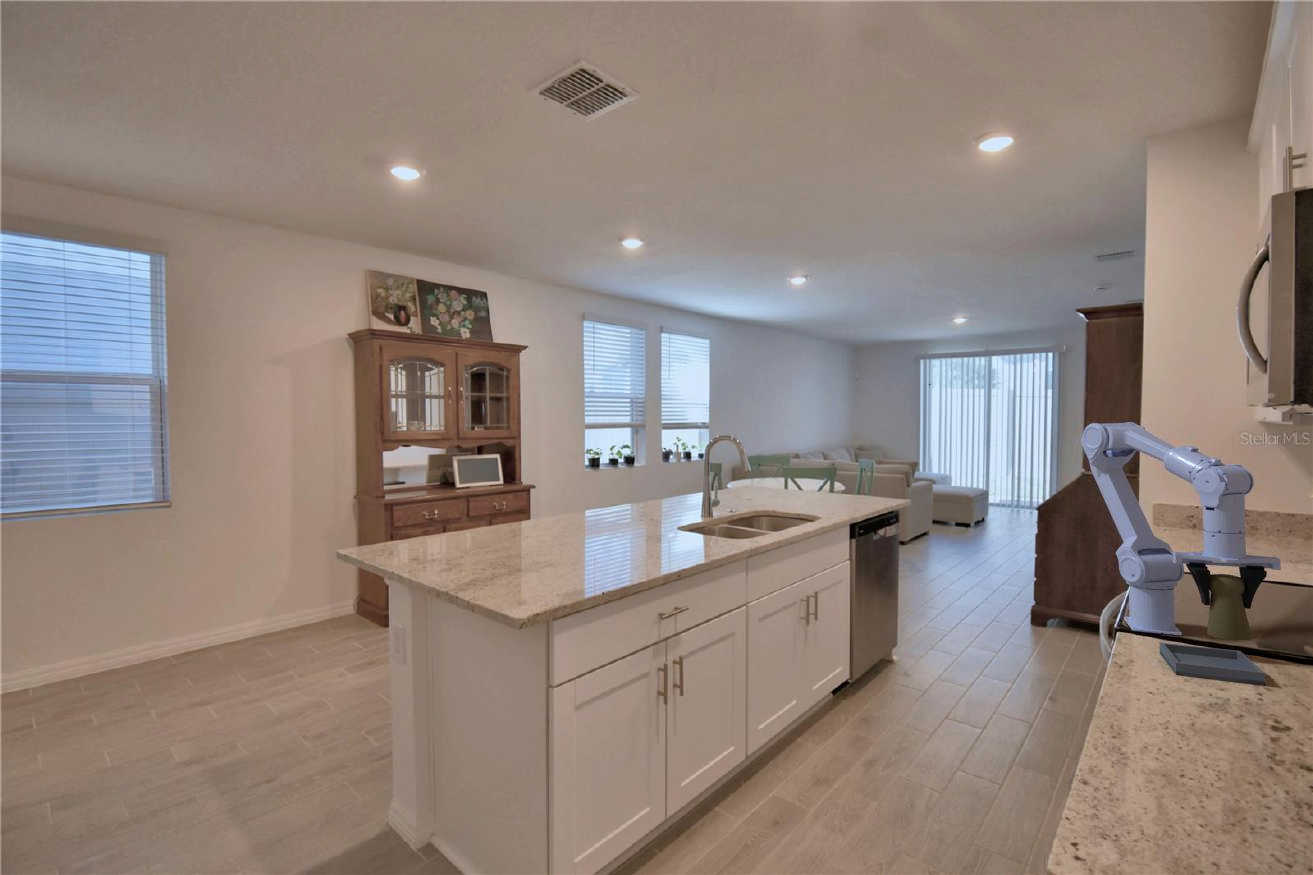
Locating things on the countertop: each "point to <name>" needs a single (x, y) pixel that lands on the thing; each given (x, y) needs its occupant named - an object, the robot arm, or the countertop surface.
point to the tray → (1211, 663)
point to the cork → (1227, 608)
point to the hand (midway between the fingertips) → (1225, 605)
